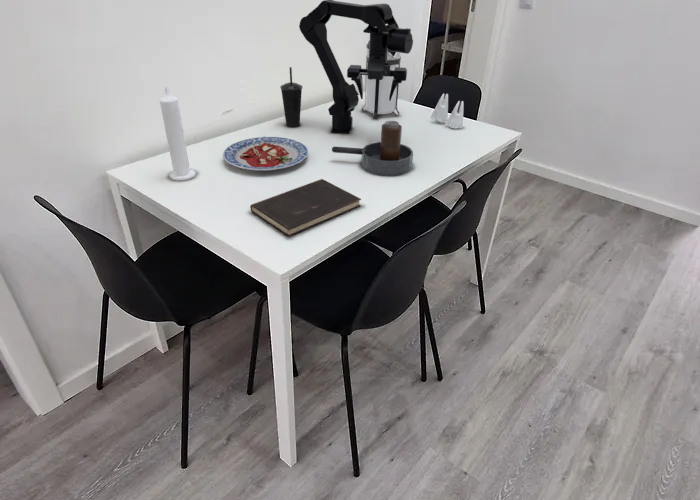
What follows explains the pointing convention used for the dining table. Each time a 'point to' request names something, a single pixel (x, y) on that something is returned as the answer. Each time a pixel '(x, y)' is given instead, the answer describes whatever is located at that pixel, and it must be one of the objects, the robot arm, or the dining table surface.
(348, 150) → the pan handle
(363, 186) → the dining table surface
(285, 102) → the drinking cup
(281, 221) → the hardcover book
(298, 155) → the ceramic plate
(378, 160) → the pan
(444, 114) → the shaker set
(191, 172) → the candle
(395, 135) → the pepper mill
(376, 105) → the coffee press
